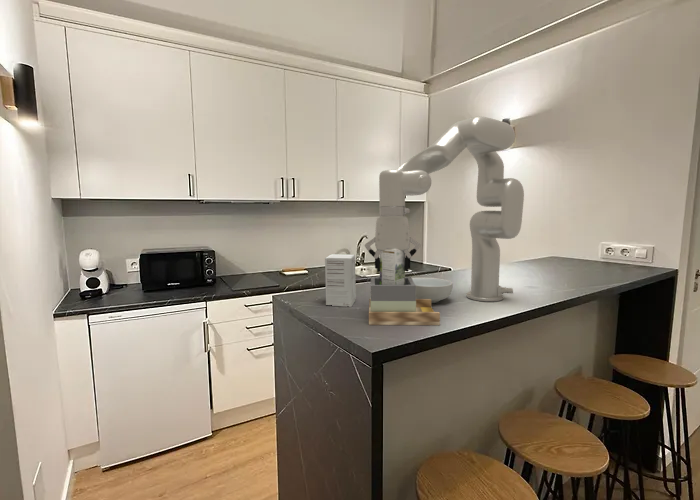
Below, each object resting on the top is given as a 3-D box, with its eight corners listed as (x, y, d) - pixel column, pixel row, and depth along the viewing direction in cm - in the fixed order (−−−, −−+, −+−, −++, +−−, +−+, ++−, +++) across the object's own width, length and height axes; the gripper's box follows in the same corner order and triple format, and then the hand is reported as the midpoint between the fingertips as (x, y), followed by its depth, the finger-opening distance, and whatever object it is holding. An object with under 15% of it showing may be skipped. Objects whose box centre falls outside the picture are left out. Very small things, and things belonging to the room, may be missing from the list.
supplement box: (331, 299, 134) (330, 253, 132) (356, 299, 132) (355, 254, 130) (325, 306, 124) (324, 257, 122) (351, 307, 123) (351, 257, 121)
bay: (430, 309, 118) (430, 298, 118) (439, 325, 102) (439, 313, 102) (369, 309, 120) (369, 298, 119) (368, 324, 104) (368, 312, 103)
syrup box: (389, 291, 115) (389, 246, 113) (405, 294, 111) (405, 247, 109) (379, 295, 110) (378, 248, 109) (395, 298, 107) (395, 249, 105)
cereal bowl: (454, 307, 120) (454, 286, 120) (403, 305, 124) (403, 285, 123) (450, 295, 137) (450, 277, 136) (405, 294, 140) (406, 276, 139)
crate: (411, 306, 117) (411, 277, 116) (415, 318, 104) (416, 285, 103) (370, 306, 118) (370, 277, 117) (370, 318, 105) (370, 285, 104)
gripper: (420, 212, 111) (419, 268, 113) (363, 212, 112) (363, 269, 114) (423, 212, 103) (423, 273, 105) (362, 213, 105) (363, 273, 107)
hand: (392, 270), depth 110 cm, fingers closed on syrup box, 8 cm apart
